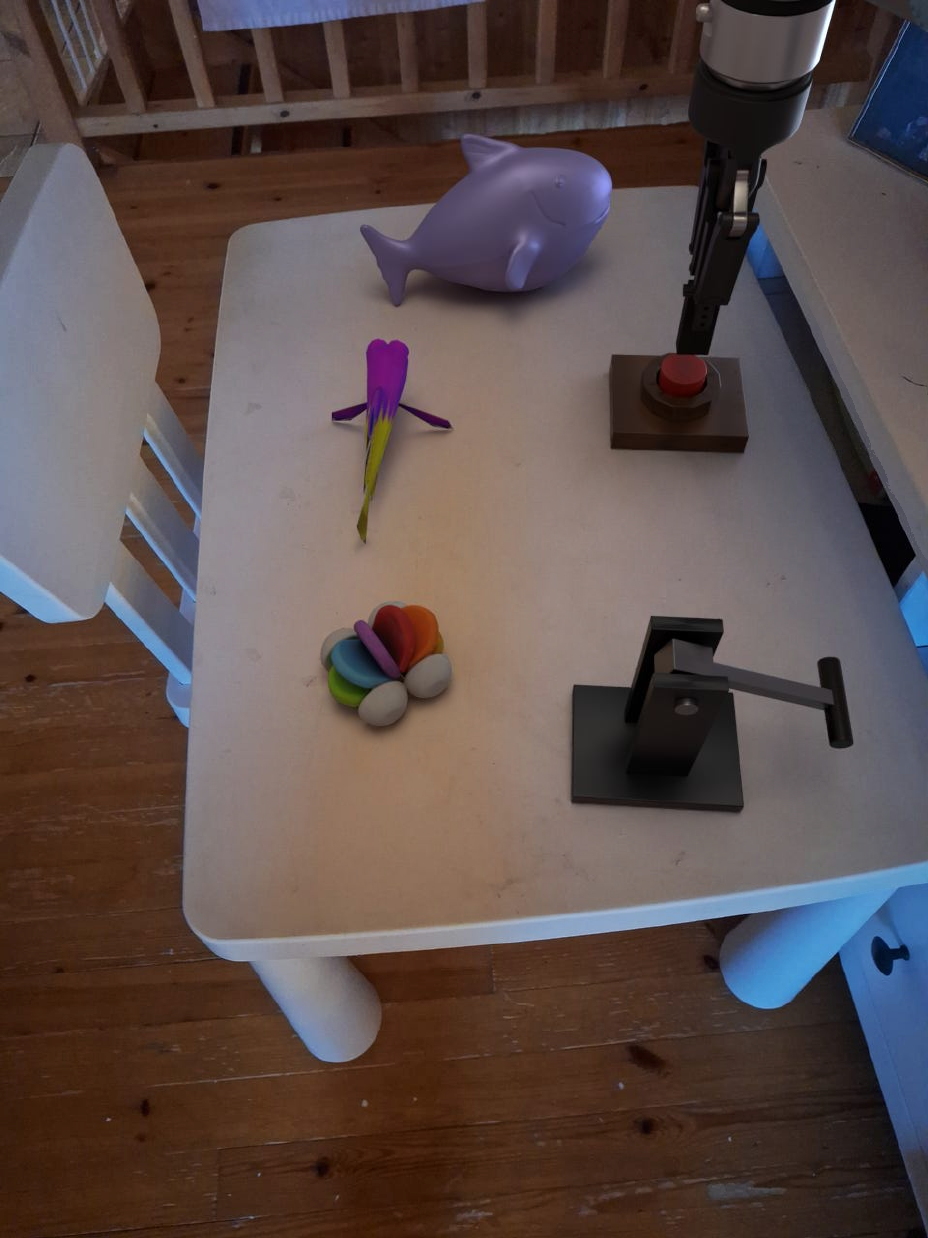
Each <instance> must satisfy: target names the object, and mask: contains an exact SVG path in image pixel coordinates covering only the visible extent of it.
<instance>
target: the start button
mask: <svg viewBox="0 0 928 1238" xmlns="http://www.w3.org/2000/svg"><path fill="white" fill-rule="evenodd" d="M673 353H674V354H672V355H669V356H668V357H666V358H665V359H664V361H663V362H662V366H661V371H660V375H659V385H660V387H661V389H662V390H663V391H664V392H665V393H667V394H669V395H671V396H674V397H684V398H690V397H693V396H695V395H697V394H698V393H699V392H700V391H701V390H702V388H703V385H704V381H705V377H706V373H707V367H706V364H705V363H704V361H703V360H702V359H701V358H699V357H700V356H699V355H677V354H676V352H673Z"/></svg>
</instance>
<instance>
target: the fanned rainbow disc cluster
mask: <svg viewBox="0 0 928 1238" xmlns="http://www.w3.org/2000/svg"><path fill="white" fill-rule="evenodd" d="M439 630H440V629H439V623H438V619H437V617H436V615H435V613H433V611H431V610H430V609H428V608H426V607H425V606H421V605H418V604H411V605H408V604H406V603H404V602H401V601H398V600H389V601H385V602H382V603H380V604H379V605H377V606H375V608H374V609H373V610H372V611H371V613H370V615H369V616H368V620H367V621H366V620H364V619H359V620H357V621H355V622H354V624H353V628H352V627H344V628H339V629H336V630H333V631H332V632H331V633H329V634H328V635H327V636H326V637H325V639H324V641H323V642H322V644H321V647H320V653H319V654H320V662H321V664H322V667H323V668H324V669H325V671H328V674H327V675H328V677H327V685H328V690H329V692H330V694H331V696H332V698H334V700H336V701H337V702H338V703H340V704H342V705H344V706H348V707H353V708H358V711H357V714H358V716H359V717H360V719H361V720H363V721H364V722H365V723H367V724H369V725H371V726H372V725H373V726H375V727H382V726H383V727H385V726H388V725H391V724H393V723H395V722H397V721H398V720H399V719H400V718H401V717H402V716H403V714H404V712H405V711H406V709H407V705H408V697H409V696H408V693H409V694H411V695H413V696H414V697H416V698H417V697H418V698H422V699H428V698H429V699H430V698H433V697H435V696H438V695H439V694H442V692H443V691H444V690H446V688H447V687H448V685H449V684H450V682H451V680H452V679H451V678H452V674H453V668H452V667H453V666H452V663H451V660H450V658H449V657H448V656H447V655H446V654H444V653H443V652H444V644H445V643H444V638H443V635H442V633H441V631H439ZM400 677H402V678H403V682H401V681H399V680H397V679H399V678H400Z"/></svg>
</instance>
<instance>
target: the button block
mask: <svg viewBox="0 0 928 1238" xmlns="http://www.w3.org/2000/svg"><path fill="white" fill-rule="evenodd" d="M674 353H675V352H667V353H665V354H662V355H657V354H655V355H652V354H615V353H613V354H611V357H610V364H609V369H608V373H609V375H608V376H609V378H608V379H609V436H610V439H609V441H610V443H609V444H610V449H611V450H614V449H615V450H637V451H664V452H665V451H667V452H695V453H696V452H698V453H724V454H725V453H728V454H729V453H730V454H744V453H745V450H746V449H747V444H748V442H749V439H750V429H749V421H748V414H747V413H748V412H747V406H746V398H745V389H744V382H743V372H742V366H741V358H740V357H730V356H729V357H728V356H725V357H724V356H698V357H699V358H701V359H702V360H703V361H704V363H705V364H706V367H707V373H706V377H705V381H704V385H703V388H702V390H701V391H700V392H699V393H698V394H697V395H695V396H693V397H690V398H684V397H674V396H671V395H669V394H667V393H665V392H664V391H663V390H662V389H661V387H660V385H659V375H660V371H661V366H662V362H663V361H664V359H665V358H666V357H668V356H669V355H672V354H674Z"/></svg>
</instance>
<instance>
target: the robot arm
mask: <svg viewBox="0 0 928 1238" xmlns="http://www.w3.org/2000/svg"><path fill="white" fill-rule="evenodd" d="M864 1H865V2H867V3H870V4H872V5H873V6H876V7H878V8H880V9H882V10H884V11H886V12H888V13H891V14H892V15H895V16H897V17H899V18H900V19H903V20H905V21H906V22H907V21H908V22H909V23H911V24H913V25H915V26H918V27H920V29H921V31H922V30H923V31H924V32H926V33H927V34H928V0H864ZM835 5H836V0H709V2H706V3H699V4H698V5H697V6H696V8H695V15H694V18H695V20H696V21H697V22H698V23H703V25H702V31H701V38H700V43H699V54H700V57H699V58H698V59H697V60H696V61H697V62H696V63H695V67H694V73H693V80H692V85H691V91H690V97H689V103H688V109H687V116H688V121H689V123H690V125H691V128H693V130H694V131H695V132H696V133H697V134H698V135H699V136H701V138H703V139H704V144H703V149H702V167H701V172H700V178H699V186H698V192H697V197H696V198H697V199H696V205H695V211H694V220H693V225H692V231H691V238H690V243H688V252H689V255H690V256H691V261H690V263H689V266H688V272H689V276H690V277H693V279H688V280H687V283H683V284H682V297H683V298H684V300H683V303H682V304H683V305H682V308H681V309H682V310H681V313H680V319H679V325H678V330H677V335H676V339H675V353H676V354H677V355H696V356H709V355H710V350H711V346H712V343H713V337H714V333H715V329H716V325H717V322H718V319H719V318H718V317H719V313H720V309H721V307H722V306H725V307H727V306H729V303H730V301H731V297H732V294H733V291H734V290H735V285H736V283H737V280H738V277H739V274H740V271H741V268H742V266H743V262H744V259H745V257H746V255H747V250H748V248H749V245H750V242H751V240H752V239H753V236H754V235H755V234H756V232H757V230H758V227H759V225H760V223H761V218H760V214H759V212H758V211H754V207H755V202H756V198H757V195H758V191H759V190H760V188H762V186H763V184H764V183H765V182H764V181H765V178H766V174H767V170H768V159H767V158H762V155H763V154H764V153H765V152H766V151H767V150H769V149H771V148H772V147H775V146H777V145H780V144H782V143H784V142H785V141H787V140H789V139H790V138H791V137H793V135H794V134H795V133H796V132H797V131H798V129H799V128H800V125H801V123H802V119H803V116H804V113H805V109H806V106H807V102H808V98H809V95H810V91H811V88H812V84H813V80H814V76H815V75H814V68H815V67H816V66H817V65H818V63H819V62H820V59H821V55H822V52H823V49H824V44H825V41H826V37H827V32H828V29H829V26H830V23H831V19H832V15H833V11H834V7H835Z"/></svg>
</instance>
